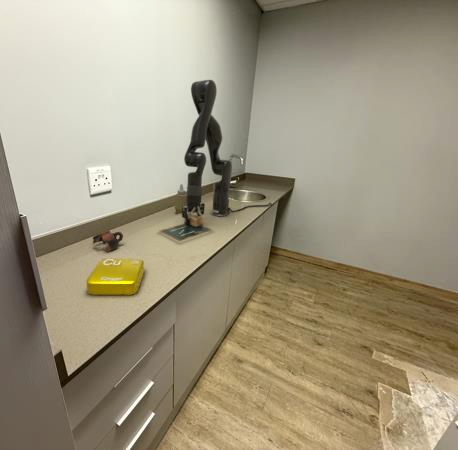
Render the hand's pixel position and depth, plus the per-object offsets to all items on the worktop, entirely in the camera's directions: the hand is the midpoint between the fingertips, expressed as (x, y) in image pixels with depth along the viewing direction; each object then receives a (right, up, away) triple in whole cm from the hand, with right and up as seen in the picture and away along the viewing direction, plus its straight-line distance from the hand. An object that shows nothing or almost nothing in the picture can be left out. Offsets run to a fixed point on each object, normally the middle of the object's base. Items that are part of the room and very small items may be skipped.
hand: (193, 223), depth 128 cm
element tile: (-23, -19, -48) cm, 56 cm away
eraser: (0, -1, 0) cm, 1 cm away
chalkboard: (-3, -4, -6) cm, 8 cm away
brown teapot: (-35, -10, -25) cm, 44 cm away
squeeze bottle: (-8, +6, +23) cm, 25 cm away
